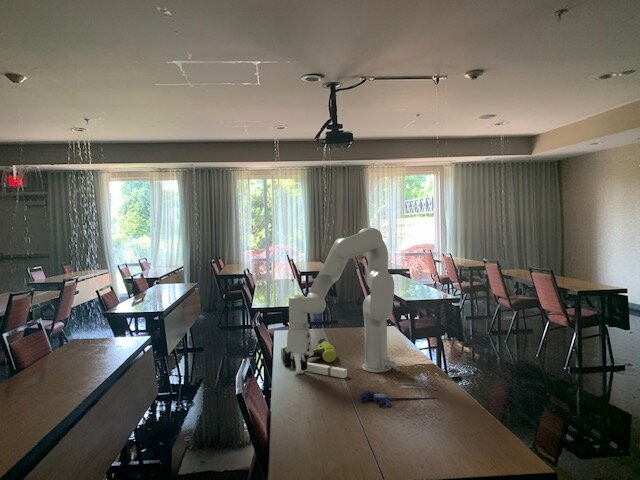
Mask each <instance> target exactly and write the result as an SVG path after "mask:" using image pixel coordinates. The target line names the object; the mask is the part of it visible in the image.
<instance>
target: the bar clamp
mask: <svg viewBox="0 0 640 480" xmlns="http://www.w3.org/2000/svg"><path fill="white" fill-rule="evenodd" d="M435 399H436V400H439V399H440V397H388V395H387V394H385V393H379V392H375V391H370V390H367V391H364V392H362V393H360V394H359V402H360V403H363V404H366V403H368V401H369V402H371V401H373V402H374V404H378V405H379V406H378V407H379V408H384V406H385V405H386V407H388V408H391V406H392V404H391V401H392V400H393V401H396V400H398V401H399V400H400V401H403V400H405V401H406V400H409V401H410V400H412V401H413V400H414V401H415V400H418V401H419V400H435Z"/></svg>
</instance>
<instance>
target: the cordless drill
mask: <svg viewBox="0 0 640 480" xmlns="http://www.w3.org/2000/svg"><path fill="white" fill-rule="evenodd" d="M317 342H318V344H317V346H316V348H312V350H313V352H314V355H312V356H310V357H309V359H312V358H322V359H323V360H324V361H325V362H326V363H332V362H334V361H335V360H336V358H337V353H336V349H335V347H334V346H333V345H332V344H331V343H330V342H329V341H328V340H326V339H325V338H321V339H319V341H317ZM286 347H287V346H286ZM286 347H283V348H280V356H281V357H280V360H281V361H282V363H283V365H284V367H285V368H290V367H292V359H291V357H290V356H289V354H288V353H287V352H286V351H285V349H286ZM307 353H308V354H309V352H307Z"/></svg>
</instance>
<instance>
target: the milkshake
mask: <svg viewBox="0 0 640 480" xmlns="http://www.w3.org/2000/svg"><path fill="white" fill-rule="evenodd" d="M293 356H294V361H295V366H296V369H295V372H296V374H299V375H302V374H304V373H305V371H302V366H301V361H303V360H302V355H301V354H300V353H293Z"/></svg>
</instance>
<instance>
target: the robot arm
mask: <svg viewBox="0 0 640 480" xmlns="http://www.w3.org/2000/svg"><path fill="white" fill-rule="evenodd" d="M365 253H367V259H368V260H367V270H366V271H367V273H366V286H368V288H369V289H370V294H368V295H367V296H366V297H365V298H364V300H363V303H362V313H363V321H364V322H363V323H364V362H363V363H362V364H361V369H362V370H364V371H365V372H368V373H385V372H389V371H390V370H391V369H392V368H397V363H396V361H394V360H391V358H390V356H388V324H387V320H388V319H389V318H390V316H391V315H392V313H393V309H394V297H395V279H394V277H393V275H392V274H390V273H389V251H388V247H387V244H386V243H385V241H384V239H383V234H382V233H381V231H380V230H379V229H377V228H374V227H364V228H362V229H360V230H359V231H358V233H355V234H353V235H350V236H347V237H339V238H337V239H336V240H335V241H334V243H333V244H332V247H331V248H330V250H329V253H327V257H326V259H325V261H324V262H323V264H322V267H321V269H320V271H319V272H318V274H317V275H316V278H315V279H314V281H313V283H312V284H311V287H310V289H309V291H308V293H307V296H306V295H302V294H300V295H299V294H298V295H291V296H289V298H288V316H289V317H288V322H289V327H288V331H287V337H286V349H285V351H286V352H287V353H288V354H289V356H290V357H291V359H292V366H291V369H292V370H296V369H295V368H296V366H295V361H294V356H293V353H300V354H301V355H302V360H303V361H301V366H302V371H304V370H306V369H307V362H308V360H309V359H310V358H309V357H310V356H312V355H314V352H313V350H312V349H313V341H312V334H311V331H310V328H309V327H310V325H311V324H310V323H309V321H308V314H315V315H316V314H317V315H318V314H321V313H323V312H324V311H325V309H326V308H327V303H326V300H325V298H326V296H327V294H328V292H329V290H330V289H331V287H332V286H333V285H334V283H336V282H337V281H338V280H339V279H340V277H341V275H342V274H343V271H344V269H345V267H346V265H347V263H348V262H349V259H353V258H356V257H357V256H360V255H363V254H365ZM307 352H309V354H308V353H307ZM304 372H305V371H304Z"/></svg>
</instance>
